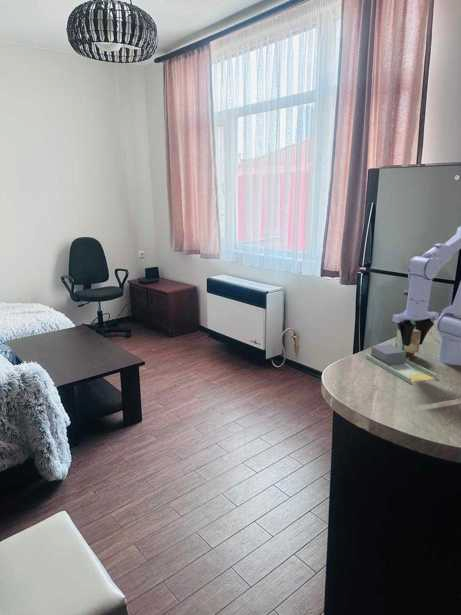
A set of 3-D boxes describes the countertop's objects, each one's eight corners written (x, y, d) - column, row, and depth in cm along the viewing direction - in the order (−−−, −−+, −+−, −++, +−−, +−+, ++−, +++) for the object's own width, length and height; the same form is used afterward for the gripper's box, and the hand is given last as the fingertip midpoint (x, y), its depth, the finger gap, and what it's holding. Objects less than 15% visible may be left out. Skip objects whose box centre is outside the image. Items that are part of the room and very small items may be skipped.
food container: (421, 365, 135) (425, 335, 132) (400, 363, 136) (404, 334, 133) (412, 352, 146) (416, 324, 144) (394, 350, 147) (397, 323, 145)
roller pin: (411, 347, 127) (414, 328, 126) (421, 352, 124) (424, 332, 122) (400, 348, 126) (403, 329, 125) (410, 353, 122) (412, 333, 121)
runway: (390, 357, 141) (391, 351, 141) (436, 381, 123) (437, 374, 122) (364, 360, 138) (365, 354, 137) (408, 386, 120) (409, 378, 119)
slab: (389, 355, 140) (391, 344, 139) (404, 363, 133) (406, 351, 132) (370, 358, 137) (371, 346, 136) (384, 366, 131) (386, 354, 130)
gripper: (428, 294, 127) (422, 337, 130) (387, 297, 122) (382, 341, 126) (446, 300, 120) (439, 345, 124) (404, 303, 116) (398, 350, 119)
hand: (412, 344), depth 124 cm, fingers closed on roller pin, 4 cm apart
